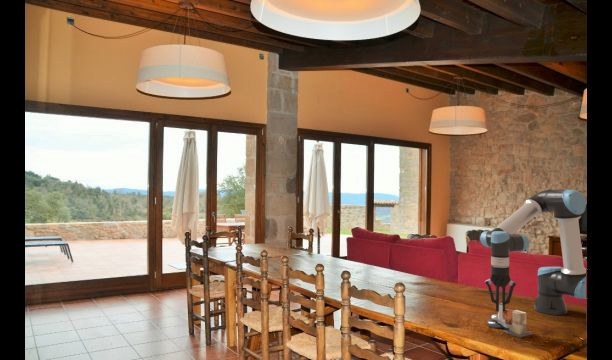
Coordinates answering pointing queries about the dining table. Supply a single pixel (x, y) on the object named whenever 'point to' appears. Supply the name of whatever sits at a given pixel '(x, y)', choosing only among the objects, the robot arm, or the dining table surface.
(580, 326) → the dining table surface
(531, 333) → the pad
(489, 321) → the crank base
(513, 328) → the block
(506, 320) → the crank
